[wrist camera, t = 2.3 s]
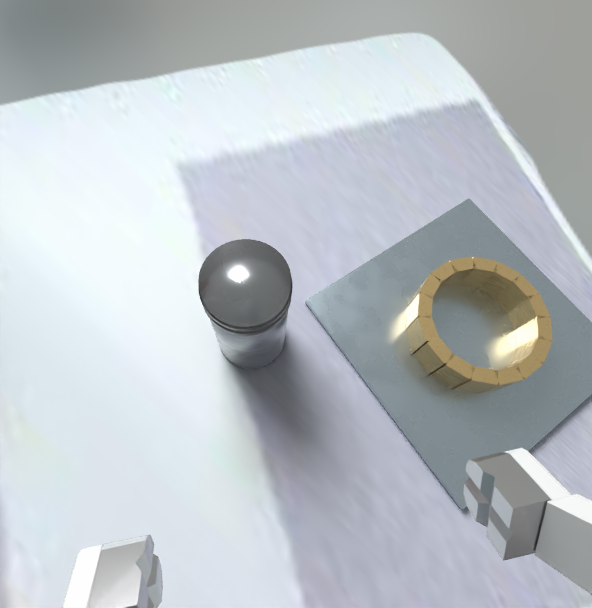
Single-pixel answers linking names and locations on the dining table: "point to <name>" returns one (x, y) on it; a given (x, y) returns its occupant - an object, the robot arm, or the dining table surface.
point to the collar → (461, 342)
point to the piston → (247, 300)
